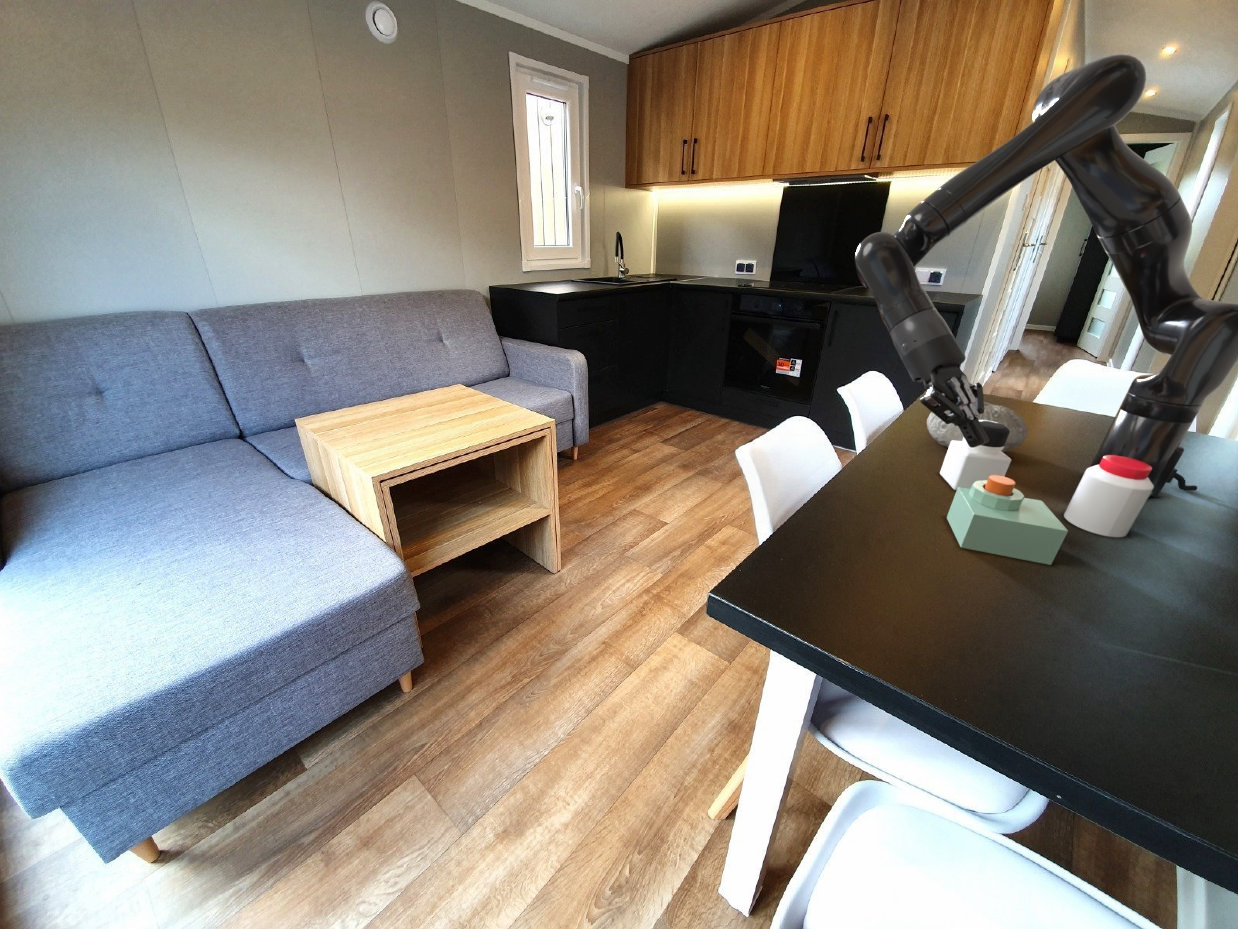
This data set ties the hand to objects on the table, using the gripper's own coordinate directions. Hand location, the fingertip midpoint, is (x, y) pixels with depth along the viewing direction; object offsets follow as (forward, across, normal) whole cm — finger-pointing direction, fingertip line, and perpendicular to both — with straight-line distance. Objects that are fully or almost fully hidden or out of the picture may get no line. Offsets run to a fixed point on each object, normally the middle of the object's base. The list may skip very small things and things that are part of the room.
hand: (980, 444), depth 73 cm
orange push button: (+7, 0, +1) cm, 7 cm away
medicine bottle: (+5, +16, +14) cm, 21 cm away
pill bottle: (+17, +20, +2) cm, 27 cm away
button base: (+14, 0, +5) cm, 14 cm away
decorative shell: (-2, +34, +21) cm, 40 cm away
